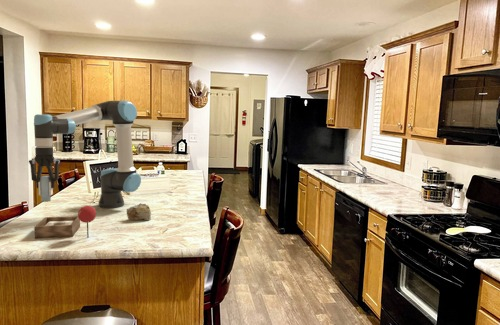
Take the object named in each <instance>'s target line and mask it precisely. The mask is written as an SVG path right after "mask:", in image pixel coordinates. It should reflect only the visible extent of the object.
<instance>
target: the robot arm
mask: <svg viewBox="0 0 500 325" xmlns="http://www.w3.org/2000/svg"><path fill="white" fill-rule="evenodd" d="M33 117H34V118H33V127H34V129H33V130H34V132H33V133H34V146H35V148H34V151H35V155H34V159H29V160H28V164H29V165H30V174H31V175H30V176H31V181H32V182H35V183H36V189H38V196H41V178H40V177H41V176H42V173H43V168H44V167H46V170H47V172H48V176H49V177H50V182H49V195H51V196H52V195H54V192H53V190H54V188H55V186H56V185H55V183H56V181H58V180H59V179H60V177H59V176H60V175H59V174H60V163H61V160H60V159H57V158H55V156H54V148H53V146H54V144H53V143H54V139H53V136H54V135H70V134H73V133H75V131H76V129H77V128H76V126H78V125H83V124H85V123H89V122H94V121H95V122H100V121H112V125H113V126H114V127H115V137H116V152H117V166H118V167H117V168H116V167H115V168H106V169H103V170H101V171H100V175H99V176H100V192H101V193H100V197H99V200H98V207H99V208H102V209H115V208H116V209H117V208H120V207H121V208H122V207H123V206H125V200H124V197H123V195H122V192H125V193H133V192H137V190H138V189H139V187H140V186H141V183H142V177H141V176H140V174H138V173H137V168H136V167H135V166H134V154H133V140H132V139H133V138H132V126H133V125H134V121H135V120H136V119H137V117H138V110H137V107H136V106H135V104H134V103H132V102H131V101H128V100H107V101H103V102H99V103H96V104H92V105H91V106H90V107H87V108H83V109H78V110H75V111H74V110H73V111H71V112H66V113H60V114H57V115H53V116H52V115H51V114H35V115H34V116H33ZM36 163H37V165H38V166H37V171H36ZM52 163H53V164H54V171H53V168H52Z"/></svg>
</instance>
